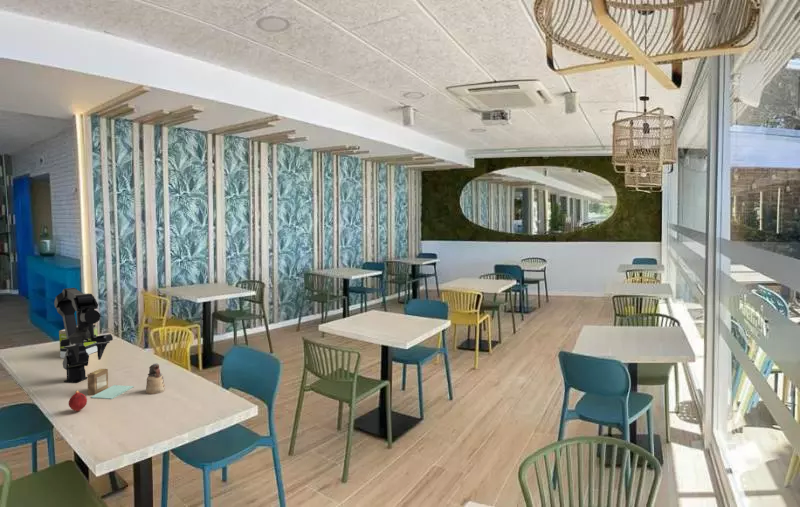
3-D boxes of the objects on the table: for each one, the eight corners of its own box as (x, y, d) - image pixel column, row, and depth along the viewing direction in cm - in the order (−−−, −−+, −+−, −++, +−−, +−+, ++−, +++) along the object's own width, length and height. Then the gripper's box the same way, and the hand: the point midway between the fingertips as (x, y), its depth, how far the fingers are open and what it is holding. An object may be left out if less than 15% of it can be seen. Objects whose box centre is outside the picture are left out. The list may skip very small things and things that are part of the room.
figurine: (161, 387, 213) (161, 360, 212) (167, 391, 208) (166, 363, 207) (143, 390, 208) (143, 363, 207) (149, 395, 203) (148, 367, 202)
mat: (90, 397, 199) (90, 396, 199) (113, 385, 212) (113, 385, 212) (111, 399, 198) (111, 398, 198) (133, 387, 212) (133, 386, 212)
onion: (90, 409, 187) (90, 389, 186) (76, 415, 182) (75, 394, 181) (79, 407, 189) (79, 387, 188) (65, 413, 183) (64, 392, 183)
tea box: (82, 350, 265) (81, 323, 264) (99, 351, 263) (98, 324, 262) (59, 358, 250) (58, 329, 249) (76, 359, 249) (76, 331, 247)
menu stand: (88, 394, 202) (87, 373, 201) (101, 388, 210) (101, 367, 209) (95, 395, 202) (94, 374, 201) (108, 388, 210) (107, 368, 209)
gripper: (49, 328, 197) (52, 367, 197) (96, 323, 198) (100, 362, 198) (67, 325, 209) (70, 361, 208) (111, 320, 209) (114, 357, 209)
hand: (88, 360), depth 206 cm, fingers open, 9 cm apart
